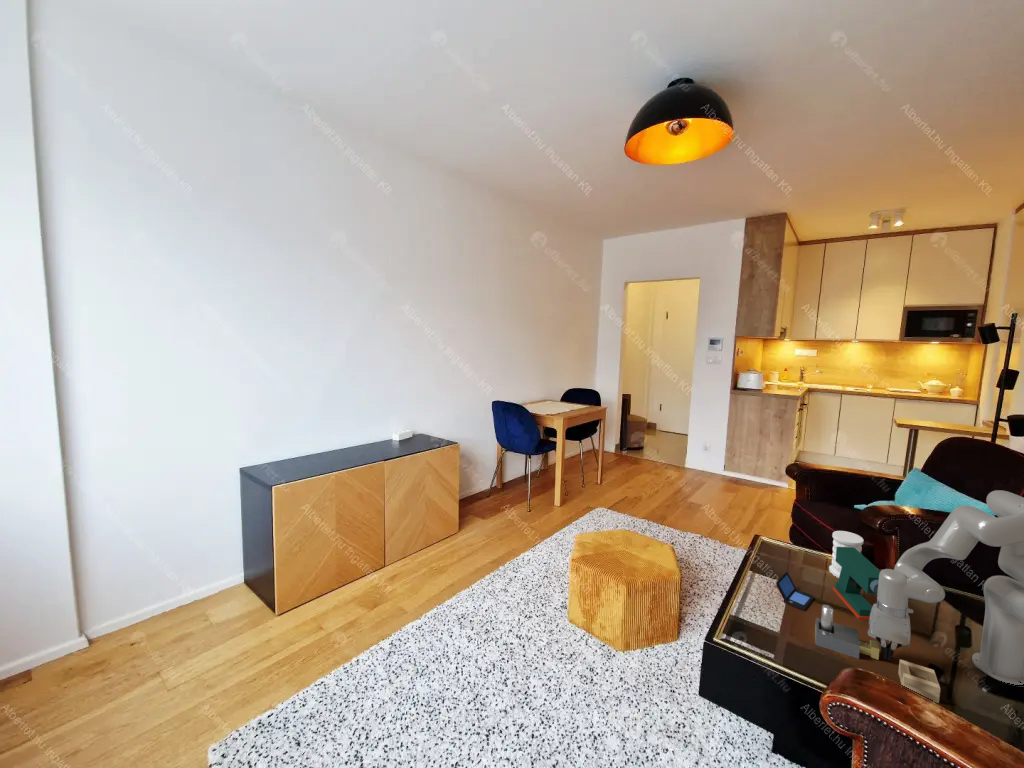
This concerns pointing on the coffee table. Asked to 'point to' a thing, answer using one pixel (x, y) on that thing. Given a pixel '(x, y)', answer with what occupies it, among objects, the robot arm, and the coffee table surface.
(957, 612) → the coffee table surface
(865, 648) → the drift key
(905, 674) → the beige open box
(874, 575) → the power tool
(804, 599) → the handheld game console
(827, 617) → the grey peg
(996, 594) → the robot arm
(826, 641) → the socket block
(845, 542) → the decorative container
